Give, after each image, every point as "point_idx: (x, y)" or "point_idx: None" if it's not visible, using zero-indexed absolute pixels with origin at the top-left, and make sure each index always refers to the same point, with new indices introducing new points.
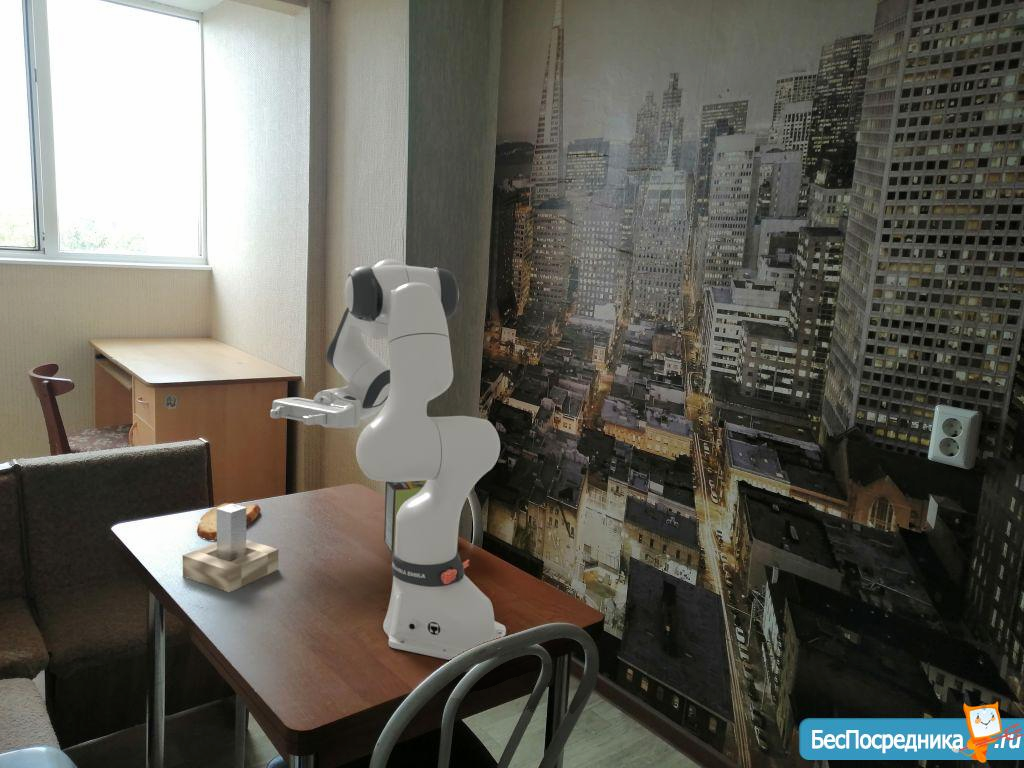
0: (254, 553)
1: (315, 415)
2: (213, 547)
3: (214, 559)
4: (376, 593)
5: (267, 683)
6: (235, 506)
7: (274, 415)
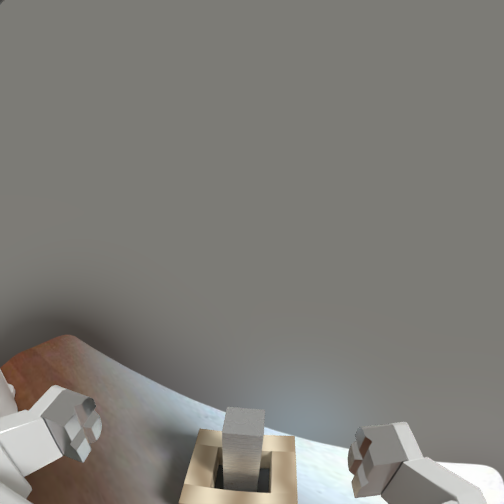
0: (205, 478)
1: (18, 420)
2: (282, 470)
3: None
4: None
5: (93, 354)
6: (244, 428)
7: (356, 441)
